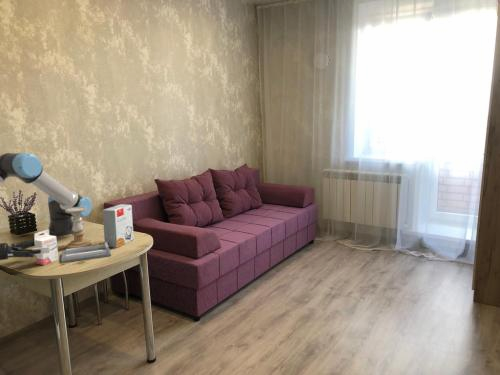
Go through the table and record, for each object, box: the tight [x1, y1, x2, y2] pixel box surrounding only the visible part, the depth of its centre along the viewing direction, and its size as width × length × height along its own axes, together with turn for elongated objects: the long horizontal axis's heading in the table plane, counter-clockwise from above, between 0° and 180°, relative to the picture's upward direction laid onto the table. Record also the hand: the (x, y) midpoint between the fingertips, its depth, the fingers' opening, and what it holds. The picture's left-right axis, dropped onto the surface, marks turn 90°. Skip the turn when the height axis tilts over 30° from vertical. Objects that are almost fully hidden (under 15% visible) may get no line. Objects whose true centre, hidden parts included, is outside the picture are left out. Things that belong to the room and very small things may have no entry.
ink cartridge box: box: [33, 229, 59, 266], centre depth 188 cm, size 9×5×15 cm, turn 157°
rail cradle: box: [61, 240, 112, 264], centre depth 197 cm, size 14×22×4 cm, turn 113°
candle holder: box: [65, 207, 93, 249], centre depth 210 cm, size 12×12×20 cm
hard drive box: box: [102, 203, 134, 249], centre depth 213 cm, size 16×8×20 cm, turn 162°
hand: (50, 245), depth 188 cm, fingers open, 13 cm apart
